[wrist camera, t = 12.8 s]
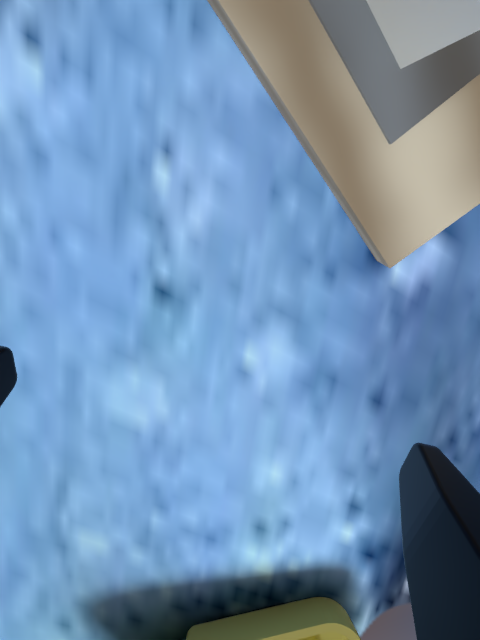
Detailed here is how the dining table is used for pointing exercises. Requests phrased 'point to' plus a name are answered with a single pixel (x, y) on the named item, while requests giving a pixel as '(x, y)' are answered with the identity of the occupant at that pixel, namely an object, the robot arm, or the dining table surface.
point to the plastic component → (282, 623)
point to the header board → (370, 114)
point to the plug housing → (424, 25)
